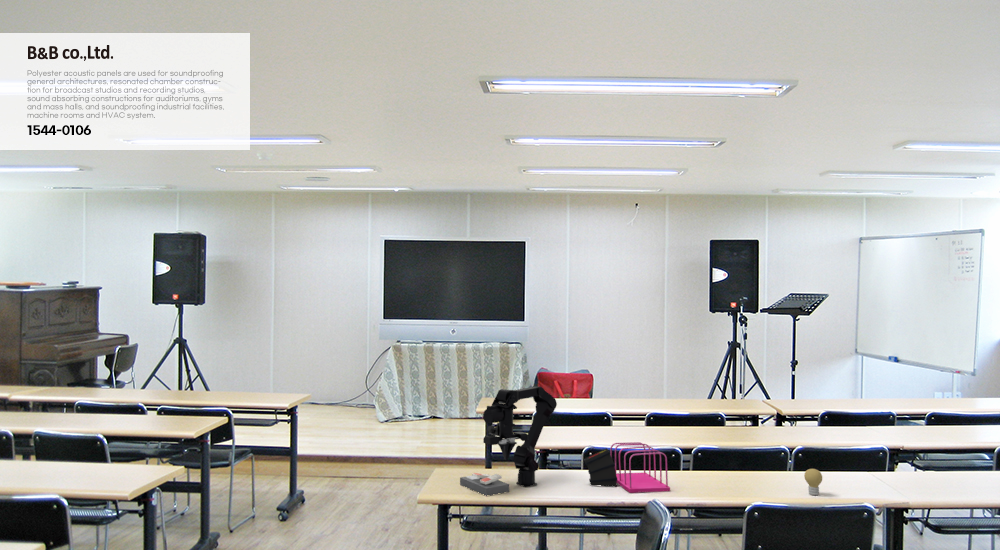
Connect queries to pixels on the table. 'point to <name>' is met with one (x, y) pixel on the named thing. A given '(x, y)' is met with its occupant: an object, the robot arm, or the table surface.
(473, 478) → the rocker switch panel
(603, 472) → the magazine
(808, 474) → the light bulb
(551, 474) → the table surface
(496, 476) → the rocker
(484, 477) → the rocker
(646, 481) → the file sorter
